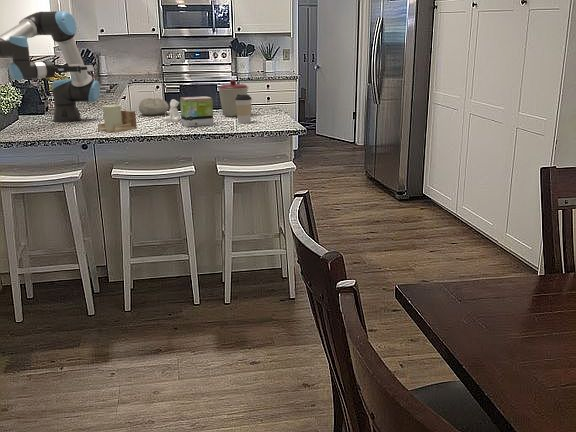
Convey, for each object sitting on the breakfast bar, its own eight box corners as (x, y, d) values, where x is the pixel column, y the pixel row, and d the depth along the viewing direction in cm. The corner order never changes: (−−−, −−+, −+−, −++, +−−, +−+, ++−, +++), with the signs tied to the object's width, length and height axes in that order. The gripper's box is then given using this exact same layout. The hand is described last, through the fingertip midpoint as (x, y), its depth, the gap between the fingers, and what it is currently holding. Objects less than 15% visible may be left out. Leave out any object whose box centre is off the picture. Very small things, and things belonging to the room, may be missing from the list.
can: (118, 129, 303) (115, 106, 299) (101, 129, 304) (98, 105, 301) (126, 126, 311) (123, 103, 308) (110, 126, 313) (107, 103, 309)
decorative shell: (153, 112, 371) (152, 96, 368) (175, 113, 363) (174, 97, 360) (133, 116, 357) (131, 99, 354) (155, 117, 348) (154, 100, 345)
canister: (213, 117, 346) (211, 80, 339) (227, 113, 362) (226, 77, 355) (241, 118, 339) (239, 80, 333) (254, 114, 355) (253, 78, 348)
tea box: (187, 127, 312) (185, 99, 308) (181, 124, 321) (179, 97, 316) (214, 125, 319) (212, 97, 314) (207, 122, 328) (206, 95, 323)
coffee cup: (255, 121, 328) (254, 93, 324) (248, 123, 320) (247, 95, 315) (240, 120, 331) (238, 93, 326) (233, 123, 323) (232, 95, 318)
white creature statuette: (162, 121, 333) (160, 100, 330) (171, 119, 341) (169, 98, 337) (176, 122, 329) (174, 100, 326) (185, 120, 337) (183, 98, 333)
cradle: (97, 130, 308) (95, 112, 305) (119, 126, 319) (117, 109, 316) (115, 132, 300) (113, 114, 298) (136, 128, 311) (135, 111, 309)
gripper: (36, 76, 294) (78, 73, 307) (54, 79, 276) (98, 76, 289) (34, 60, 292) (76, 58, 305) (52, 62, 274) (96, 60, 287)
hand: (87, 67), depth 297 cm, fingers open, 13 cm apart
